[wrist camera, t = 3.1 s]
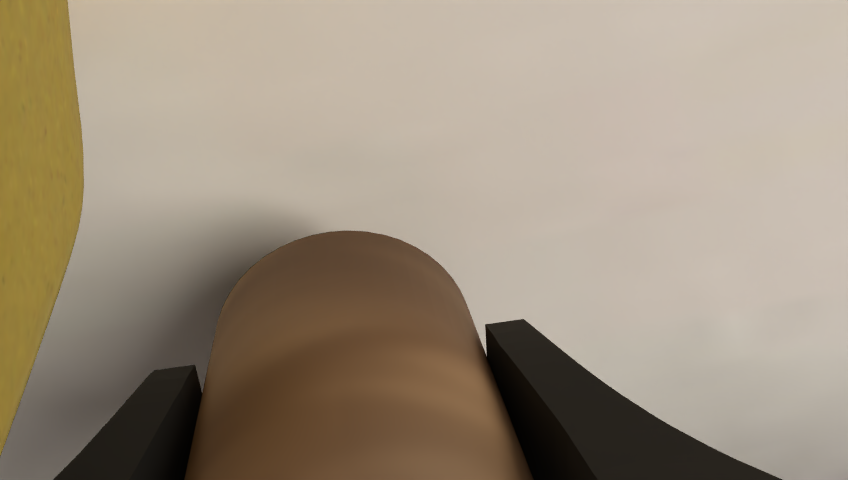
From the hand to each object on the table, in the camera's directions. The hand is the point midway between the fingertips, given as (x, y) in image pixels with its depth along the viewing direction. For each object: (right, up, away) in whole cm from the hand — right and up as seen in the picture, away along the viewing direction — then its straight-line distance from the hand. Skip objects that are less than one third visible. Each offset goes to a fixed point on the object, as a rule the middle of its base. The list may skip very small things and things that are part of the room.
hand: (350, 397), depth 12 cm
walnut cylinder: (0, +1, +1) cm, 1 cm away
